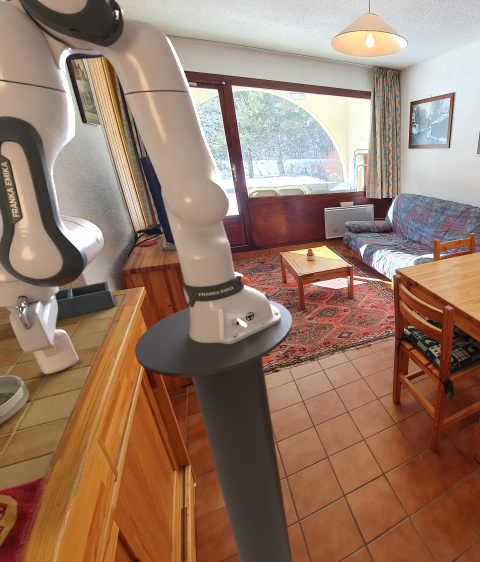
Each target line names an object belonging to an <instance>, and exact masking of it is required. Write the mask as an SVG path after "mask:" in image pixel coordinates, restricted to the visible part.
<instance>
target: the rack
mask: <svg viewBox="0 0 480 562" xmlns="http://www.w3.org/2000/svg"><path fill="white" fill-rule="evenodd" d="M55 297H56V301H57V305H58V313H57V319H56V321H58V320H59V321H60V320H63V319H66V318H67V319H68V318H72V317H75V316H79V315H83V314H84V315H85V314H89V313H93V312H98V311H101V310H102V311H103V310H106V309H111V308H115V307H116V305H115V300H114V296H113V293H112V289H111V286H110V285H109V282H108V281H102V282H101V281H100V282H96V283H92V284H86V285H80V286H76V287H71V288H64V289H59V291H58V292H57V293H56V294H55Z"/></svg>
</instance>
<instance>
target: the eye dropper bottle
mask: <svg viewBox="0 0 480 562" xmlns="http://www.w3.org/2000/svg"><path fill="white" fill-rule="evenodd" d="M53 342H54V344H55V345H56V347H57V349H58V353H57V355H54V356H51V357H46V356H45V355H44V353H43V351H42V350H40V351H36V352H32V355H33V357H34V358H35V360H36V362H37V365H38V366H39V368H40V370H41V372H42V373H43V374H45V375H51V374H55V373H57V372H60V371H62V370H65V369H68V368H70V367H71V366H73V365H75V364H77V363H78V362H79V357H78V355H77V352H76V350H75V348H74V346H73V345H74V344H73V343H72V341H71V339H70V336H69V335H68V333H67V332H66V331H65V330H64V329H56V330H55V332H54V338H53Z"/></svg>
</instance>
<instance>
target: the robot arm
mask: <svg viewBox="0 0 480 562" xmlns="http://www.w3.org/2000/svg"><path fill="white" fill-rule="evenodd" d="M103 57H104V58H106V60H107V61H108V62H109V63H110V64H111V66H112V68H113V69H114V72H115V73H116V75H117V78H118V80H119V83H120V85H121V88H122V91H123V94H124V96H125V99H126V101H127V104H128V107H129V110H130V112H131V115H132V117H133V119H134V123H135V126H136V128H137V131H138V133H139V137H140V138H141V141H142V144H143V146H144V148H145V151H146V153H147V156H148V158H149V160H150V163H151V165H152V167H153V170H154V172H155V175H156V177H157V180H158V183H159V184H160V187H161V188H160V193H161V197H162V201H163V206H164V209H165V212H166V216H167V221H168V224H169V227H170V232H171V234H172V238H173V242H174V246H175V248H176V252H177V256H178V260H179V261H178V262H179V265H180V269H181V274H182V277H183V281H182V287H183V288H182V290H183V294H184V297H185V301H186V303H187V305H188V308H189V310H190V331H189V336H190V338H191V339H192V340H194V341H197V342H201V343H224V344H233V343H235V342H237V341H239V340H242V339H244V338H246V337H248V336H250V335H252V334H254V333H257V332H259V331H261V330H263V329H265V328H267V327H269V326H271V325H274V324H276V323H278V322H280V321H281V314H280V312H279V310H278V309H277V308H276V307H274V306H273V305H271V304H270V303H269V301H268V300H269V296H268V292H267V291H260V290H258V289H256V288H253V287H250V286H249V285H250V284H251V279H250V278H249V277H248V276H244V275H243V274H242V273H239V272H237V271H235V269H234V268H235V267H234V262H233V256H232V249H231V244H230V242H229V239H228V235H227V233H226V230H225V226H224V221H223V220H224V219H225V218H226V216H227V215H228V212H229V209H230V201H229V196H228V193H227V191H226V189H225V186H224V183H223V181H222V177H221V174H220V171H219V170H218V167H217V164H216V162H215V159H214V157H213V155H212V152H211V150H210V147H209V145H208V143H207V140H206V137H205V134H204V130H203V127H202V125H201V121H200V117H199V114H198V111H197V108H196V105H195V101H194V97H193V94H192V91H191V87H190V85H189V82H188V78H187V76H186V73H185V71H184V68H183V66H182V63H181V62H180V59H179V56H178V55H177V53H176V50H175V48H174V47H173V44H172V42H171V40H170V39H169V37H168V36H167V34H166V33H165V32H164V31H162V30H161V29H160V28H158V27H156V26H155V25H153V24H152V23H149V22H146V21H142V20H137V19H131V18H126V17H125V14H124V10H123V8H122V7H121V6H120V4H119V3H118V2H117V0H4V1H3V0H0V308H6V309H7V310H8V311H9V312H10V314H9V322H10V325H11V328H12V330H13V332H14V335H15V337H16V339H17V341H18V343H19V346H20V347H21V350H22V351H24V353H26V354H33V352H36V351H40V350H42V351H43V353H44V355H45V356H46V357H51V356H54V355H57V353H58V349H57V347H56V345H55V344H54V342H53V338H54V332H55V330H57V328H56V326H57V325H56V324H57V320H56V319H57V313H58V305H57V301H56V297H55V294H56V293H57V292H58V291H59V290H60V287H62V286H66V285H69V284H71V283H73V282H75V281H76V280H77V279H78V278H80V276H81V275H82V274H83V272H84V271H85V269H86V268H87V267H88V266H89V265H90V264H92V262H94V260H95V259H96V258H97V257H98V256H99V255H101V253H102V251H103V250H104V248H105V243H106V242H105V237H104V234H103V232H102V230H100V228H99V227H98V226H97V225H96V224H95V223H93V222H92V221H90V220H89V219H86V218H84V217H80V216H74V215H72V216H71V215H63V214H61V211H60V208H59V203H58V202H59V201H58V197H57V192H56V188H55V183H54V176H53V172H54V171H53V169H54V165H55V161H56V159H57V157H58V155H60V153H61V151H62V150H63V149H64V148H65V147H66V146H67V145H68V144H69V143H70V142H71V140H72V139H73V138H74V136H75V133H76V120H75V119H76V117H75V110H74V103H73V100H72V95H71V92H70V88H69V83H68V79H67V75H66V67H65V64H66V63H65V62H66V60H67V61H77V60H87V59H88V60H89V59H99V58H103Z"/></svg>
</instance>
